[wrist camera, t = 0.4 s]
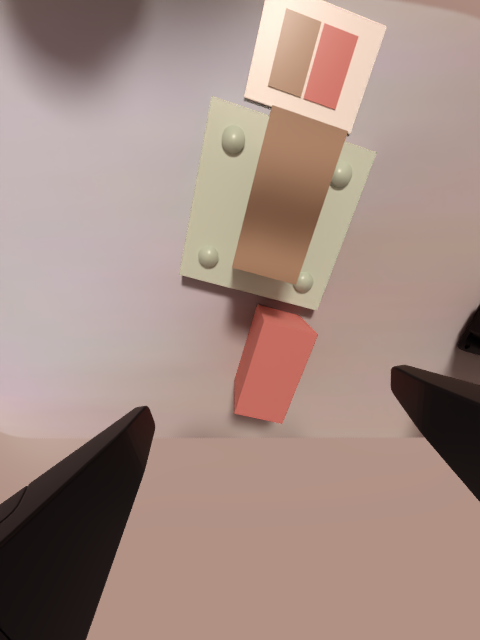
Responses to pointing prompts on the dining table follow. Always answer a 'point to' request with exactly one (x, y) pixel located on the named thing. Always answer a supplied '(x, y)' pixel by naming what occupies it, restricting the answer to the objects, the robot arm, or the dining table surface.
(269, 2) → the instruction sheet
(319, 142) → the brick walnut
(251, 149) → the plate
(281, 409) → the brick red
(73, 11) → the dining table surface
